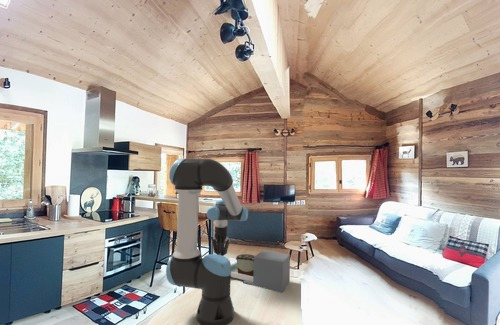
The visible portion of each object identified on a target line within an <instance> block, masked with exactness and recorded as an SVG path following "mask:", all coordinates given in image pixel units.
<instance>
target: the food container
mask: <svg viewBox="0 0 500 325" xmlns="http://www.w3.org/2000/svg"><path fill="white" fill-rule="evenodd" d="M255 256H256V255H253V254H250V253H249V254H248V253H243V254H238V255H237V256H236V257H235V260H236V263H237V270H238V273H239V274H244V275H248V276H253V277H254V257H255Z"/></svg>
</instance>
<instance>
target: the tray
mask: <svg viewBox="0 0 500 325" xmlns="http://www.w3.org/2000/svg"><path fill="white" fill-rule="evenodd" d="M231 278H233V279H234V278H235V279H239V280H243V281H244V280H247V281H251V282H253V276H248V275H244V274H239V273H238V270H237V261H236V262H234V263H232V264H231Z"/></svg>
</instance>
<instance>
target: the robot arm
mask: <svg viewBox="0 0 500 325" xmlns="http://www.w3.org/2000/svg"><path fill="white" fill-rule="evenodd" d="M169 181H170V183H171V185H173V186H174V190H175V192H177V196H178V197H177V222H176V223H177V228H176V250H175V251H174V252H173V253H172V256H171V257H169V259H168V261H167V265H166V267H165V268H166V269H165V275H166V276H165V277H166V279H167V281H168V283H169V284H170V285H172V286H176V287H181V288H182V287H183V288H191V289H198V290H201V298H200V302H199V304H198V306H197V310H196V321H197V322H198V323H199V324H200V325H228V324H229V323H231V322H232V321H233V319H234V317H235V309H234V308H235V307H234V305H233V301H232V298H231V281H232V277H231V265H232V264H231V260H229V259H228V258H227V257H226V256H225V255H227V253H228V249H229V245H230V242H231V240H232V238H229V237H228V221H236V222H237V221H238V222H246V221H247V220H248V217H249V209H248V208H247V207H246V206H245V207H244V206H242V205H241V202H240V199H239V197H238V195H237V192H236V189H235V186H233V184H234V179H233V176H232V174H231V172H230V171H229V169H227V167H225V166H224V165H223V164H222V163H220V162H219V161H217V160H215V159H212V158H186V157H185V158H178V159H176V160H175V161H173V163H172V165H171V167H170V169H169ZM203 187H212V188H213V190H214V191H215V192H217V193H218V195H219V198H220V199H219V200H218V199H217V200H215V204H214V205H212V206H210V207H209V208H208V209H207V210H206V217H207V219H208V220H210V221H214V226H215V227H214V235H213V236H211V237H210V239H211V242H212V246H213V247H212V248H213V253H212V254H206V255H204V256H203V257H201V254H202V253H201V251H200V250H199V248H198V238H199V236H198V229H199V197H200V196H199V194H200V193H201V192H202V191H203Z"/></svg>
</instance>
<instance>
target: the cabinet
mask: <svg viewBox="0 0 500 325" xmlns="http://www.w3.org/2000/svg"><path fill="white" fill-rule="evenodd" d="M254 256H255V257H254V277H253V282H251V281H247V280H243V282H242V283H243V284H245V285H249V286H252V287H253V286H255V287H258V288H263V289H266V290H271V291H276V292H278V293H279V292H280V293H284V291H285V290H286V288H287V287H286V286H289V284H288V283H290V279H291V277H290V275H291V274H290V271H291V269H290V268H291V254H289V253H282V252H277V251H272V250H266V249H262V250H261V251H260V252H258V253H257V254H256V255H254Z"/></svg>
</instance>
